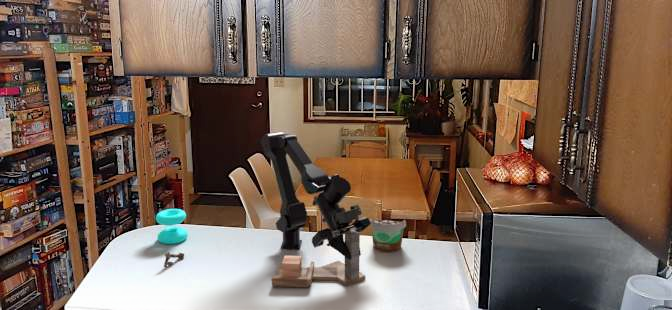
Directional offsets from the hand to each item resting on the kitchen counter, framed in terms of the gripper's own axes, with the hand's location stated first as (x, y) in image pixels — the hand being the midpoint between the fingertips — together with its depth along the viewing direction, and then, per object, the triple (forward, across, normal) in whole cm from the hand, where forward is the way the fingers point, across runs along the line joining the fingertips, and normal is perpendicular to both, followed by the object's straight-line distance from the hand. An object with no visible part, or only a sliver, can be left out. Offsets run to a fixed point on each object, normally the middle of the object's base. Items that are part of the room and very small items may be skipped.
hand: (355, 257), depth 145 cm
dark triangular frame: (-26, -36, +38) cm, 58 cm away
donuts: (-39, -29, +50) cm, 70 cm away
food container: (-1, +22, +13) cm, 26 cm away
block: (-5, -13, +14) cm, 20 cm away
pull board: (-2, -9, +12) cm, 15 cm away
